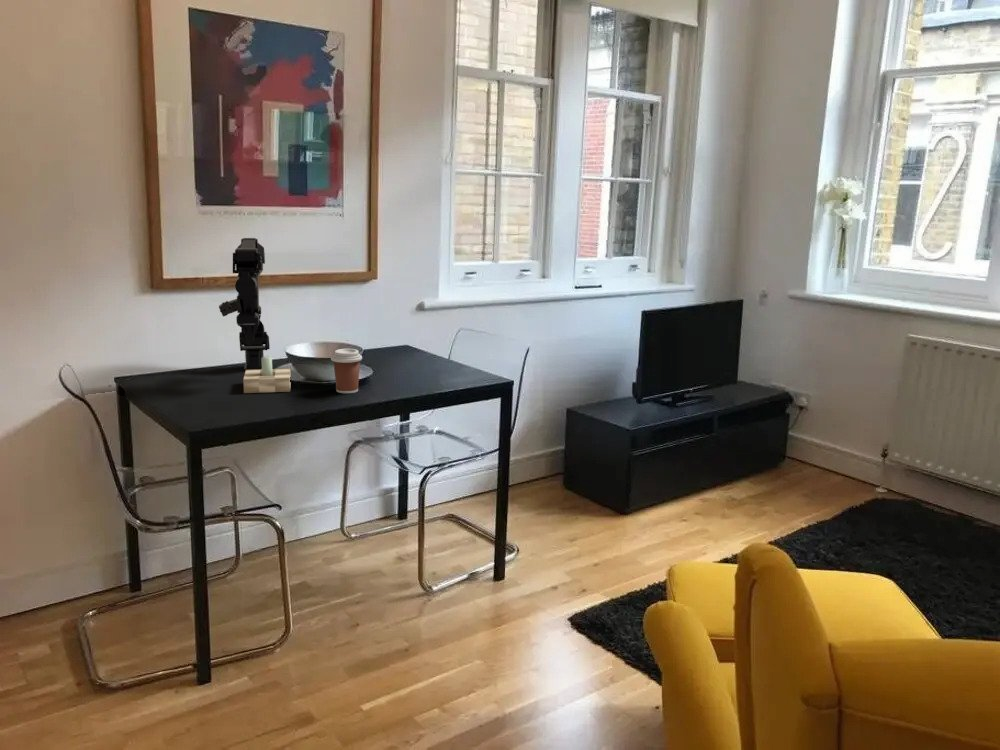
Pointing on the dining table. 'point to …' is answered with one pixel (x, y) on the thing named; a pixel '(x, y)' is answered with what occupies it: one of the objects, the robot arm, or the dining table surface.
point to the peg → (267, 366)
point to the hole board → (267, 381)
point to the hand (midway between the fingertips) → (250, 342)
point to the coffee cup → (346, 370)
